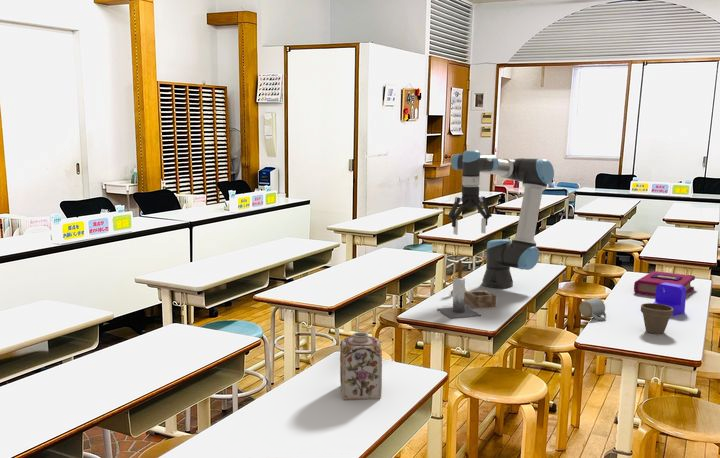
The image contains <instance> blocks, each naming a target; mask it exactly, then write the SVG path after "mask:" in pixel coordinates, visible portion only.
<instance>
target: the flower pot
mask: <svg viewBox="0 0 720 458" xmlns="http://www.w3.org/2000/svg"><path fill="white" fill-rule="evenodd" d="M640 312H641V313H642V318H643V322H644V328H645V331H646V332H647V333H648V334H649V333H650V334H655V335H662V334H664V333H665V331H666V328H667V326H668V323H669V321H670V317H673V316H672V315H673V308H672V307H670V306H667V305H663V304H656V303H654V302H647V303H642V304H641V305H640Z"/></svg>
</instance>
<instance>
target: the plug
mask: <svg viewBox="0 0 720 458" xmlns="http://www.w3.org/2000/svg"><path fill="white" fill-rule="evenodd" d="M465 288H466V279H465V278H458V277H457V278H453V279H452V290H453V294H452V307H453V312H455V313H463V312H465V306H466V305H465V304H466V303H465Z"/></svg>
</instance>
